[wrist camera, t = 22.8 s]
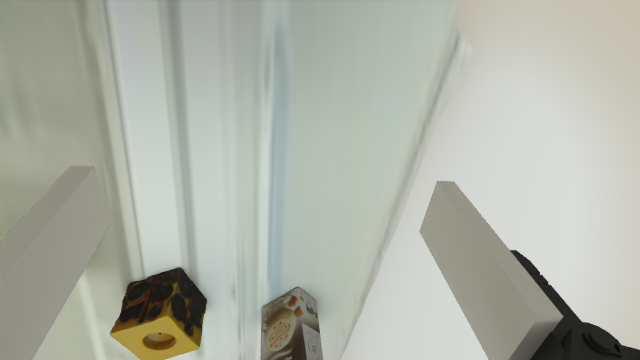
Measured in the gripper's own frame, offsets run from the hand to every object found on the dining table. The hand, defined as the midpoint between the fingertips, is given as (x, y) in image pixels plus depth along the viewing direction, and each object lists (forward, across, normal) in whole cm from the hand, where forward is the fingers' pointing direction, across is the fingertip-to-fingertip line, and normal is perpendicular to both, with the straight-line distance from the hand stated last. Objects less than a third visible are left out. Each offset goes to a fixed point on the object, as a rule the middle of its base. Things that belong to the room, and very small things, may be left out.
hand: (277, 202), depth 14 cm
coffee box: (+35, +6, -50) cm, 61 cm away
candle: (+35, -16, -46) cm, 60 cm away
